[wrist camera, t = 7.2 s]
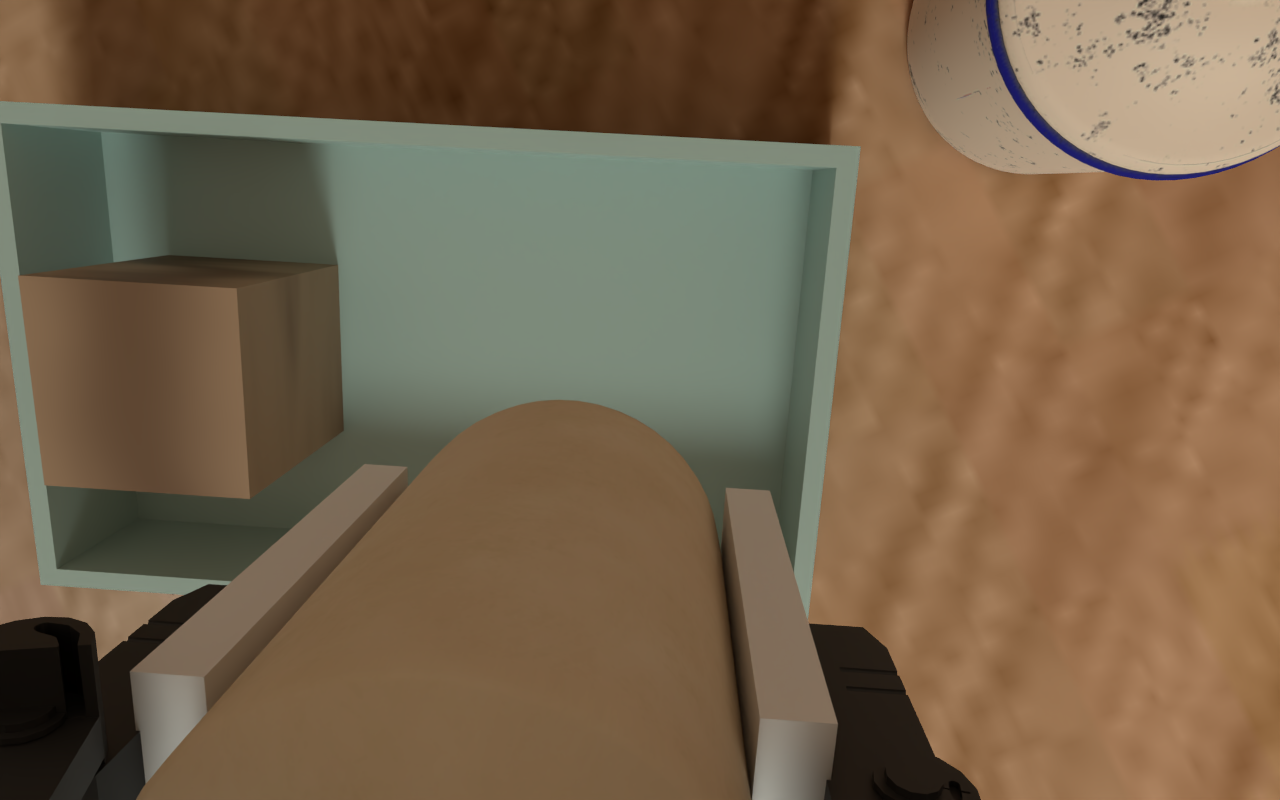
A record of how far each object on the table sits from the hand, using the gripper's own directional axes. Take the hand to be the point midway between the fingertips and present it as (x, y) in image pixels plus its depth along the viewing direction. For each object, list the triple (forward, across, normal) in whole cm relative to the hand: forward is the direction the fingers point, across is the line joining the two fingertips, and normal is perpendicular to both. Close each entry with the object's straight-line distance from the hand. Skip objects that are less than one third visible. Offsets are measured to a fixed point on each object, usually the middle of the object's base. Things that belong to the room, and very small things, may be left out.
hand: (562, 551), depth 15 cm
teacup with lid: (+16, +13, +13) cm, 25 cm away
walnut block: (+16, -13, 0) cm, 20 cm away
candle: (+1, 0, 0) cm, 1 cm away
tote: (+16, -6, 0) cm, 17 cm away
